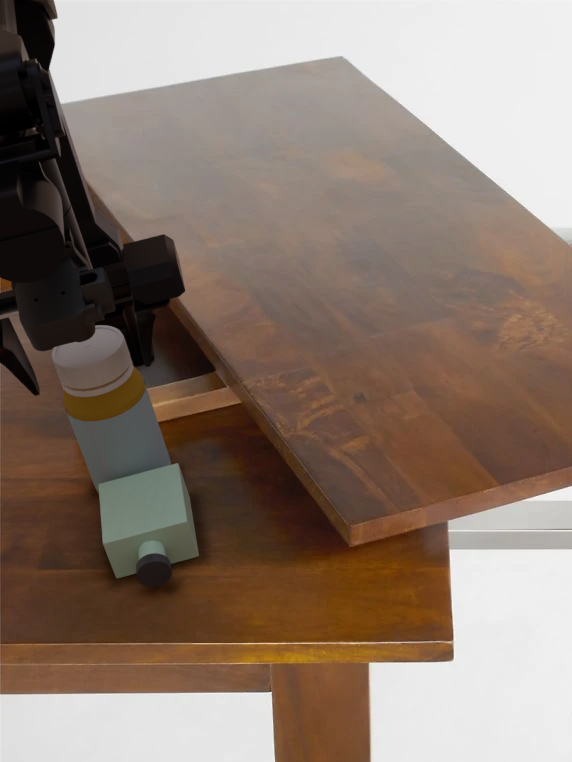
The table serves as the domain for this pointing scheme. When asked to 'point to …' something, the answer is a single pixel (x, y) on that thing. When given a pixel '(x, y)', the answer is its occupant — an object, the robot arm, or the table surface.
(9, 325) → the robot arm
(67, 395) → the bottle
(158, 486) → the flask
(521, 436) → the table surface
